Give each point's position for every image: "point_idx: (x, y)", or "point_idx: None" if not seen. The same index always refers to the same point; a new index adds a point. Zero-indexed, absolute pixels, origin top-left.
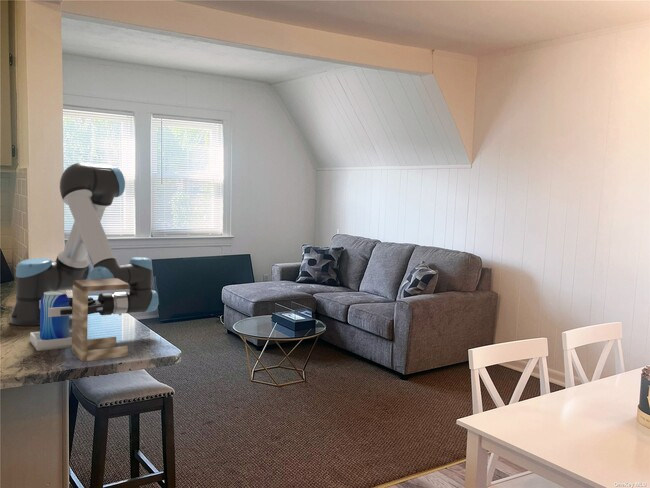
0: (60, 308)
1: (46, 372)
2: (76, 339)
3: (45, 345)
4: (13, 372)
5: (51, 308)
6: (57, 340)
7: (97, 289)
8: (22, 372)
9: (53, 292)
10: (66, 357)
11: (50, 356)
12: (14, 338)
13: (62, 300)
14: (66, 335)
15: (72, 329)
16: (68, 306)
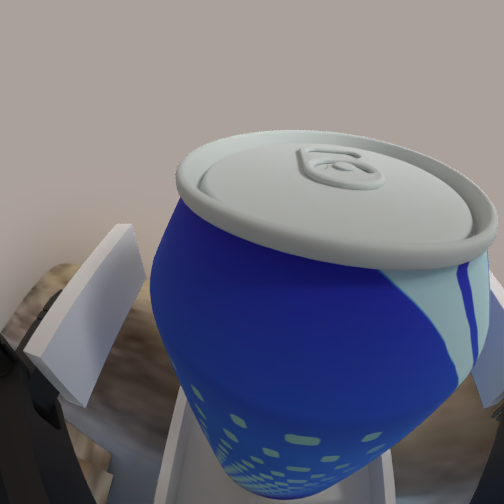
0: (75, 283)
1: (17, 311)
2: None
3: None
4: (68, 273)
5: (107, 235)
6: (174, 414)
7: None
8: (54, 283)
9: (434, 183)
10: (59, 399)
11: (103, 370)
12: None
13: (154, 274)
14: (229, 475)
15: None
16: (229, 435)
